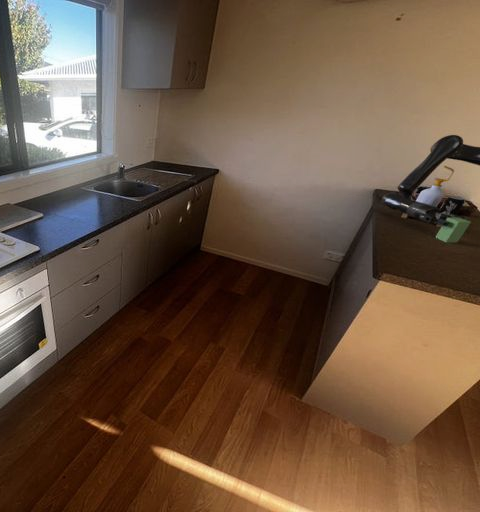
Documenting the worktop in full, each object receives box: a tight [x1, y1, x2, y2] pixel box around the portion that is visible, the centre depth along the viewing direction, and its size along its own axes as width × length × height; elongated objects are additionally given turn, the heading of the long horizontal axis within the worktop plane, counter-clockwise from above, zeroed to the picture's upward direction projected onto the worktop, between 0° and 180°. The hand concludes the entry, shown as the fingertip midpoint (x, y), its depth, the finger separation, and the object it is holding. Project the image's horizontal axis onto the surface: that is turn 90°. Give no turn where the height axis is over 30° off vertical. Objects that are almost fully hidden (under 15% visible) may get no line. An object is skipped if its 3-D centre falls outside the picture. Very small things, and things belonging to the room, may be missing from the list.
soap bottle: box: [415, 165, 455, 208], centre depth 160 cm, size 9×9×25 cm
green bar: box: [435, 218, 472, 243], centre depth 130 cm, size 5×5×10 cm
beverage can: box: [439, 195, 466, 215], centre depth 151 cm, size 7×7×12 cm
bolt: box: [458, 204, 476, 216], centre depth 164 cm, size 6×5×15 cm
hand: (457, 224), depth 128 cm, fingers open, 8 cm apart
